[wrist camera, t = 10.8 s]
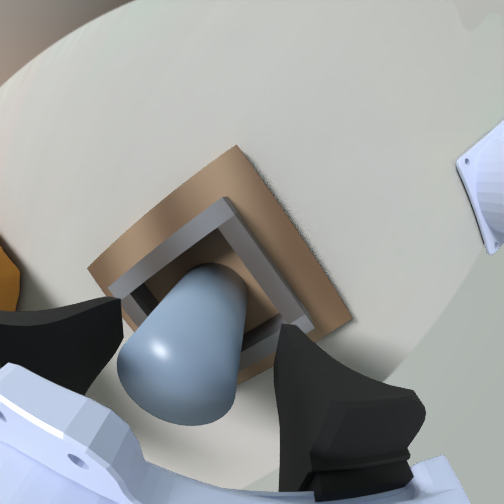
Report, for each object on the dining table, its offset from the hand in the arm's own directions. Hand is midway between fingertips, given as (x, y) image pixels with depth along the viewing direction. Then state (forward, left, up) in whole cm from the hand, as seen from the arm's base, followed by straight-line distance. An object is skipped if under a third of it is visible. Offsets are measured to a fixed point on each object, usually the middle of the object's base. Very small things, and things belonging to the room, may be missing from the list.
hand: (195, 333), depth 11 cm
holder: (0, 0, -5) cm, 5 cm away
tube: (0, 0, -4) cm, 4 cm away
